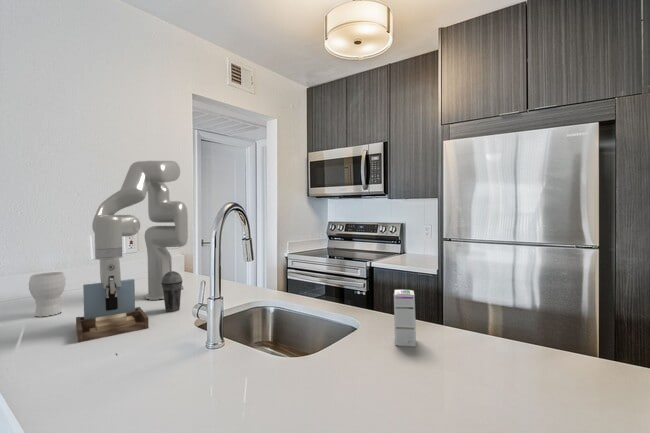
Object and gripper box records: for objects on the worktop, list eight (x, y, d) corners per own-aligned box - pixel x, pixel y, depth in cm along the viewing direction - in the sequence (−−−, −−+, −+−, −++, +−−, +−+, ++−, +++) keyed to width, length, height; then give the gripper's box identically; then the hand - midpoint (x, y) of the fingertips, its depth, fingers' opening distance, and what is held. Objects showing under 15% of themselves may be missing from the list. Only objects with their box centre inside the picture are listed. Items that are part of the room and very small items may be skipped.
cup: (50, 318, 120) (49, 277, 120) (21, 319, 121) (20, 277, 120) (73, 309, 131) (72, 271, 131) (46, 310, 131) (45, 271, 131)
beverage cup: (186, 310, 129) (185, 258, 128) (176, 316, 122) (175, 261, 121) (168, 309, 130) (167, 258, 129) (157, 315, 122) (156, 261, 122)
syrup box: (416, 347, 92) (415, 294, 92) (394, 345, 93) (393, 293, 93) (415, 339, 98) (414, 289, 97) (394, 338, 99) (393, 288, 99)
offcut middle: (131, 320, 110) (131, 315, 110) (134, 323, 106) (134, 319, 106) (94, 327, 103) (94, 322, 103) (97, 331, 100) (97, 326, 100)
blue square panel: (134, 319, 116) (133, 278, 115) (135, 320, 114) (134, 279, 114) (84, 328, 107) (83, 284, 107) (84, 330, 105) (83, 285, 105)
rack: (139, 319, 118) (139, 306, 118) (148, 331, 107) (148, 317, 107) (76, 331, 107) (76, 317, 107) (78, 346, 95) (77, 330, 95)
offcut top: (125, 317, 108) (125, 312, 108) (126, 320, 105) (126, 316, 105) (95, 322, 104) (95, 317, 104) (95, 326, 100) (95, 321, 100)
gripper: (126, 255, 105) (127, 310, 106) (118, 250, 119) (119, 299, 119) (97, 257, 101) (98, 315, 101) (93, 252, 115) (94, 303, 115)
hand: (110, 306), depth 110 cm, fingers open, 7 cm apart
